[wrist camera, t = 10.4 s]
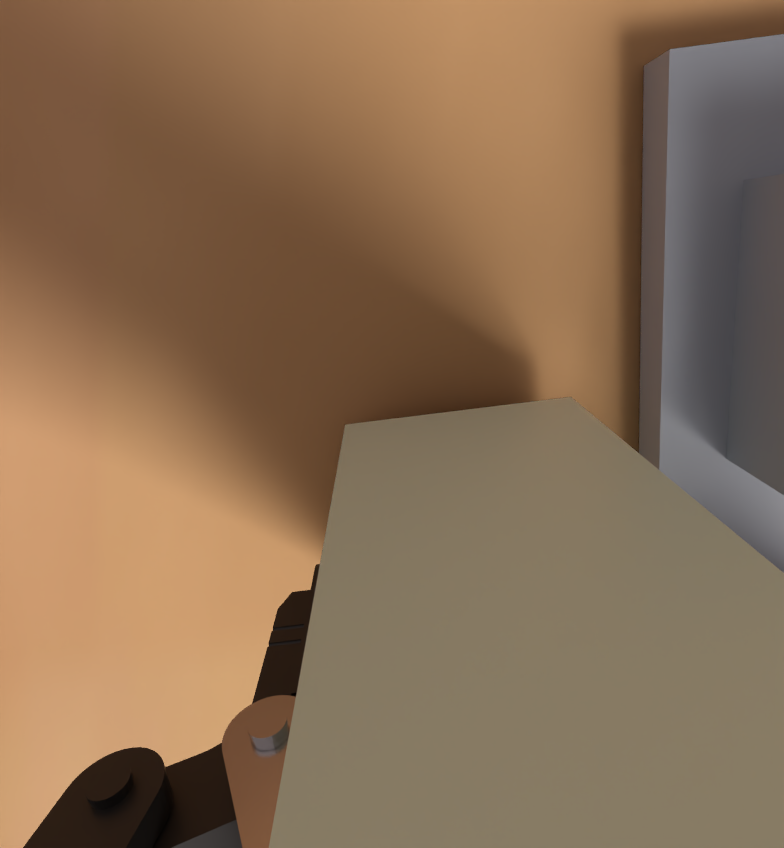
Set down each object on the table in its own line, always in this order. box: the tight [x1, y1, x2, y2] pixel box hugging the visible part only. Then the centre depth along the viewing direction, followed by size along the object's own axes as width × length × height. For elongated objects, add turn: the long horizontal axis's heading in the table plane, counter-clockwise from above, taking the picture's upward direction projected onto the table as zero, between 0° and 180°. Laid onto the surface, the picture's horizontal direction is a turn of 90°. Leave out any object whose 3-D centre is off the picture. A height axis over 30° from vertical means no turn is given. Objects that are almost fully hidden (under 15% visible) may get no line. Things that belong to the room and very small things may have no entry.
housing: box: [269, 397, 784, 848], centre depth 9 cm, size 6×6×12 cm
